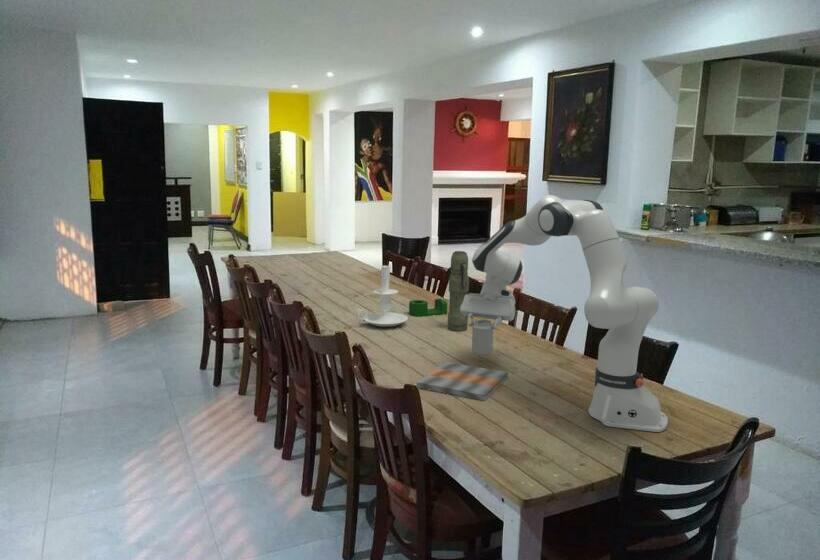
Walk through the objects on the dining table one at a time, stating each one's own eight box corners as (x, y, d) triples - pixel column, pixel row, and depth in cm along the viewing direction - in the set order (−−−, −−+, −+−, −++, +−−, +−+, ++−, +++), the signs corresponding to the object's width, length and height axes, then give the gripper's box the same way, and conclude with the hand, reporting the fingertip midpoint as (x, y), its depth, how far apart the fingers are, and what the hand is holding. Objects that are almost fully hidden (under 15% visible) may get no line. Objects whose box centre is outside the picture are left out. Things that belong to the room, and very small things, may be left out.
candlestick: (347, 322, 286) (347, 263, 280) (394, 316, 298) (395, 259, 292) (366, 334, 268) (366, 270, 263) (415, 327, 280) (416, 266, 275)
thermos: (458, 324, 286) (460, 249, 279) (472, 330, 276) (475, 253, 269) (442, 326, 282) (444, 250, 275) (456, 333, 271) (458, 254, 265)
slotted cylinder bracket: (413, 317, 297) (413, 304, 296) (406, 313, 305) (406, 300, 304) (447, 314, 304) (447, 302, 303) (439, 310, 312) (439, 298, 311)
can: (480, 348, 232) (481, 317, 230) (496, 353, 227) (497, 321, 225) (467, 353, 227) (468, 321, 225) (483, 357, 222) (484, 325, 219)
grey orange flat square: (507, 377, 218) (507, 372, 217) (484, 401, 197) (484, 395, 196) (444, 366, 228) (444, 361, 228) (416, 387, 207) (416, 382, 206)
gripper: (463, 288, 233) (453, 318, 227) (516, 293, 224) (507, 325, 218) (467, 297, 238) (457, 327, 231) (519, 302, 229) (510, 334, 222)
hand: (482, 326), depth 224 cm, fingers closed on can, 7 cm apart
